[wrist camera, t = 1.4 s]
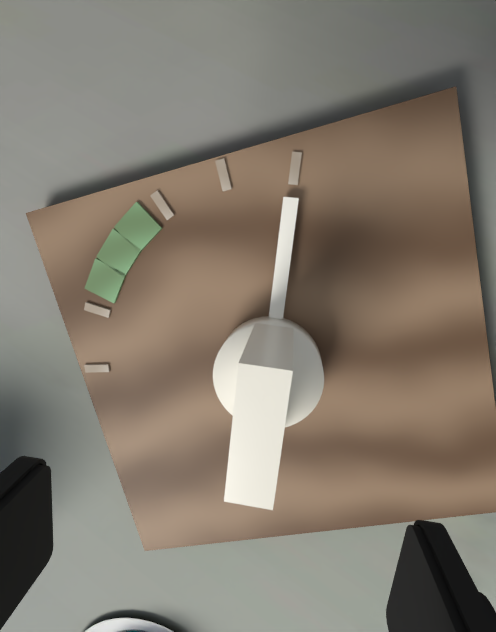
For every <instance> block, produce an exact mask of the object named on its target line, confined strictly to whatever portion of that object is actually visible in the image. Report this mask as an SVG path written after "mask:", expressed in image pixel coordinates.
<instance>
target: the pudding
mask: <svg viewBox="0 0 496 632" xmlns="http://www.w3.org/2000/svg"><path fill="white" fill-rule="evenodd" d="M132 629H133V630H143V631H147V632H173V631H171V630H170V629H168V628H166V627H164V626H161V625H159V624H156V623H153V622H150V621H146V620H142V619H135V618H114V619H110V620H105V621H102V622H100V623H97V624H95V625H93V626H92V627H90V628H89V629H87V630H86V631H85V632H118V631H122V630H132ZM127 632H138V631H127Z"/></svg>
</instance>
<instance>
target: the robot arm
mask: <svg viewBox="0 0 496 632" xmlns="http://www.w3.org/2000/svg"><path fill="white" fill-rule="evenodd" d="M52 551H53V523H52V490H51V469H50V467H49V466H46V462H45V460H43V459H39V458H33V457H26V456H21V457H19V458H17V459H16V460H15V461H14V462H13V463H11V464H10V465H9V466H8V467H7V468H6V469H5V470H3V471H2V472H1V473H0V630H1V628H2V627H3V625H4V624H5V623H6V621H7V620H8V618H9V617H10V616H11V614H12V613H13V611H14V610H15V609H16V607H17V606H18V604H19V603H20V601H21V600H22V599H23V597H24V596H25V594H26V593H27V592H28V590H29V589H30V587H31V586H32V584H33V583H34V582H35V580H36V579H37V577H38V576H39V575H40V573H41V572H42V570H43V569H44V567H45V566H46V565H47V563H48V561H49V559H50V557H51V555H52ZM386 618H387V625H388V630H389V632H496V612H495V610H494V608H493V607H492V605H491V603H490V602H489V600H488V599H487V597H486V596H485V595H483V594H482V593H480V592H478V590H477V588H476V586H475V584H474V582H473V580H472V578H471V576H470V575H469V573H468V571H467V569H466V567H465V565H464V563H463V561H462V559H461V557H460V555H459V553H458V552H457V550H456V548H455V546H454V544H453V542H452V540H451V538H450V536H449V534H448V532H447V530H446V528H445V527H444V526H443V525H442V524H441V523H436V522H429V521H423V520H416V521H415V523H414V525H408V526H407V529H406V533H405V537H404V541H403V545H402V548H401V552H400V556H399V560H398V564H397V568H396V572H395V576H394V580H393V584H392V588H391V592H390V596H389V600H388V604H387V609H386Z"/></svg>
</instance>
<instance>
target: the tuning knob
mask: <svg viewBox="0 0 496 632" xmlns="http://www.w3.org/2000/svg"><path fill="white" fill-rule="evenodd" d="M298 201H299V198H292V197H283V204H282V212H281V221H280V229H279V237H278V245H277V253H276V262H275V270H274V278H273V286H272V294H271V302H270V311H269V316H263V317H258V318H254V319H251V320H248V321H246V322H244V323H242V324H241V325H239V326H238V327H237V328H236V329H234V330H233V331H232V333H231V334H230V335H229V336H228V338H227V339H226V341H225V342H224V344H223V346H222V347H221V349H220V351H219V352H218V354H217V357H216V359H215V363H214V367H213V383H214V388H215V391H216V394H217V396H218V398H219V400H220V402H221V403H222V405H223V406H224V408H225V409H226V410H227V411H228V412H229V413H230V414H231V415H232V416H233V419H232V429H231V438H230V448H229V457H228V467H227V476H226V485H225V495H224V502H229V503H235V504H240V505H246V506H252V507H257V508H263V509H268V510H273V506H274V499H275V492H276V485H277V478H278V471H279V464H280V457H281V450H282V443H283V436H284V429H285V427H289V426H291V425H294V424H296V423H298V422H300V421H301V420H303V419H304V418H305V417H307V416H308V415H309V414H310V413H311V412H312V411H313V409H314V408H315V407H316V405H317V404H318V402H319V400H320V397H321V395H322V391H323V387H324V371H323V366H322V361H321V356H320V352H319V349H318V347H317V345H316V343H315V341H314V340H313V338H312V337H311V336H310V334H309V333H308V332H307V331H306V330H305V329H303V328H302V327H301V326H299V325H298V324H296V323H294V322H292V321H290V320H288V319H285V318H283V314H284V307H285V299H286V292H287V284H288V277H289V269H290V261H291V254H292V246H293V239H294V231H295V223H296V216H297V208H298Z"/></svg>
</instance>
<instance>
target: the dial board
mask: <svg viewBox="0 0 496 632" xmlns="http://www.w3.org/2000/svg"><path fill="white" fill-rule="evenodd" d="M283 197H292V198H299V201H298V208H297V216H296V223H295V231H294V239H293V246H292V254H291V261H290V269H289V277H288V284H287V292H286V299H285V307H284V314H283V318H285V319H288V320H290V321H292V322H294V323H296V324H298V325H299V326H301V327H302V328H303V329H305V330H306V331H307V332H308V333H309V334H310V336H311V337H312V338H313V340H314V341H315V343H316V345H317V347H318V349H319V352H320V356H321V361H322V366H323V371H324V387H323V391H322V395H321V397H320V400H319V402H318V404H317V405H316V407H315V408H314V409H313V411H312V412H311V413H310V414H309V415H308V416H307V417H305V418H304V419H303V420H301V421H300V422H298V423H296V424H294V425H291V426H289V427H285V429H284V436H283V443H282V450H281V457H280V464H279V471H278V478H277V485H276V492H275V499H274V506H273V510H268V509H263V508H257V507H252V506H246V505H240V504H235V503H229V502H224V495H225V485H226V476H227V467H228V457H229V448H230V438H231V429H232V419H233V416H232V415H231V414H230V413H229V412H228V411H227V410H226V409H225V408H224V406H223V405H222V403H221V402H220V400H219V398H218V396H217V394H216V391H215V388H214V383H213V367H214V363H215V359H216V357H217V354H218V352H219V351H220V349H221V347H222V346H223V344H224V342H225V341H226V339H227V338H228V336H229V335H230V334H231V333H232V331H233V330H234V329H236V328H237V327H238V326H239V325H241V324H242V323H244V322H246V321H248V320H251V319H254V318H258V317H263V316H269V311H270V302H271V294H272V286H273V278H274V270H275V262H276V253H277V245H278V237H279V229H280V221H281V212H282V204H283ZM26 215H27V218H28V221H29V224H30V226H31V229H32V232H33V235H34V238H35V241H36V243H37V246H38V249H39V252H40V255H41V258H42V260H43V263H44V266H45V269H46V272H47V275H48V278H49V280H50V283H51V286H52V289H53V292H54V295H55V297H56V300H57V303H58V306H59V309H60V312H61V314H62V317H63V320H64V323H65V326H66V329H67V331H68V334H69V337H70V340H71V343H72V346H73V348H74V351H75V354H76V357H77V360H78V363H79V365H80V368H81V371H82V374H83V377H84V380H85V382H86V385H87V388H88V391H89V394H90V397H91V399H92V402H93V405H94V408H95V411H96V414H97V416H98V419H99V422H100V425H101V428H102V431H103V433H104V436H105V439H106V442H107V445H108V448H109V450H110V453H111V456H112V459H113V462H114V465H115V468H116V470H117V473H118V476H119V479H120V482H121V485H122V487H123V490H124V493H125V496H126V499H127V502H128V504H129V507H130V510H131V513H132V516H133V519H134V521H135V524H136V527H137V530H138V533H139V536H140V538H141V541H142V544H143V547H144V550H145V551H148V550H157V549H166V548H176V547H185V546H194V545H203V544H212V543H221V542H230V541H239V540H248V539H257V538H266V537H275V536H284V535H293V534H302V533H311V532H320V531H329V530H338V529H347V528H356V527H365V526H374V525H384V524H393V523H402V522H411V521H416V520H429V519H438V518H447V517H456V516H465V515H474V514H483V513H492V512H496V406H495V398H494V390H493V382H492V374H491V366H490V358H489V349H488V341H487V333H486V325H485V317H484V309H483V301H482V292H481V284H480V276H479V268H478V260H477V252H476V244H475V235H474V227H473V219H472V211H471V203H470V195H469V187H468V179H467V170H466V162H465V154H464V146H463V138H462V130H461V122H460V113H459V105H458V97H457V89H456V87H452V88H449V89H445V90H442V91H439V92H435V93H432V94H429V95H425V96H422V97H418V98H415V99H412V100H408V101H405V102H401V103H398V104H395V105H391V106H388V107H384V108H381V109H378V110H374V111H371V112H367V113H364V114H361V115H357V116H354V117H351V118H347V119H344V120H340V121H337V122H334V123H330V124H327V125H323V126H320V127H317V128H313V129H310V130H306V131H303V132H300V133H296V134H293V135H289V136H286V137H283V138H279V139H276V140H273V141H269V142H266V143H262V144H259V145H256V146H252V147H249V148H245V149H242V150H239V151H235V152H232V153H228V154H225V155H222V156H218V157H215V158H211V159H208V160H205V161H201V162H198V163H195V164H191V165H188V166H184V167H181V168H178V169H174V170H171V171H167V172H164V173H161V174H157V175H154V176H150V177H147V178H144V179H140V180H137V181H133V182H130V183H127V184H123V185H120V186H117V187H113V188H110V189H106V190H103V191H100V192H96V193H93V194H89V195H86V196H83V197H79V198H76V199H72V200H69V201H66V202H62V203H59V204H55V205H52V206H49V207H45V208H42V209H39V210H35V211H32V212H28V213H26Z"/></svg>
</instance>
